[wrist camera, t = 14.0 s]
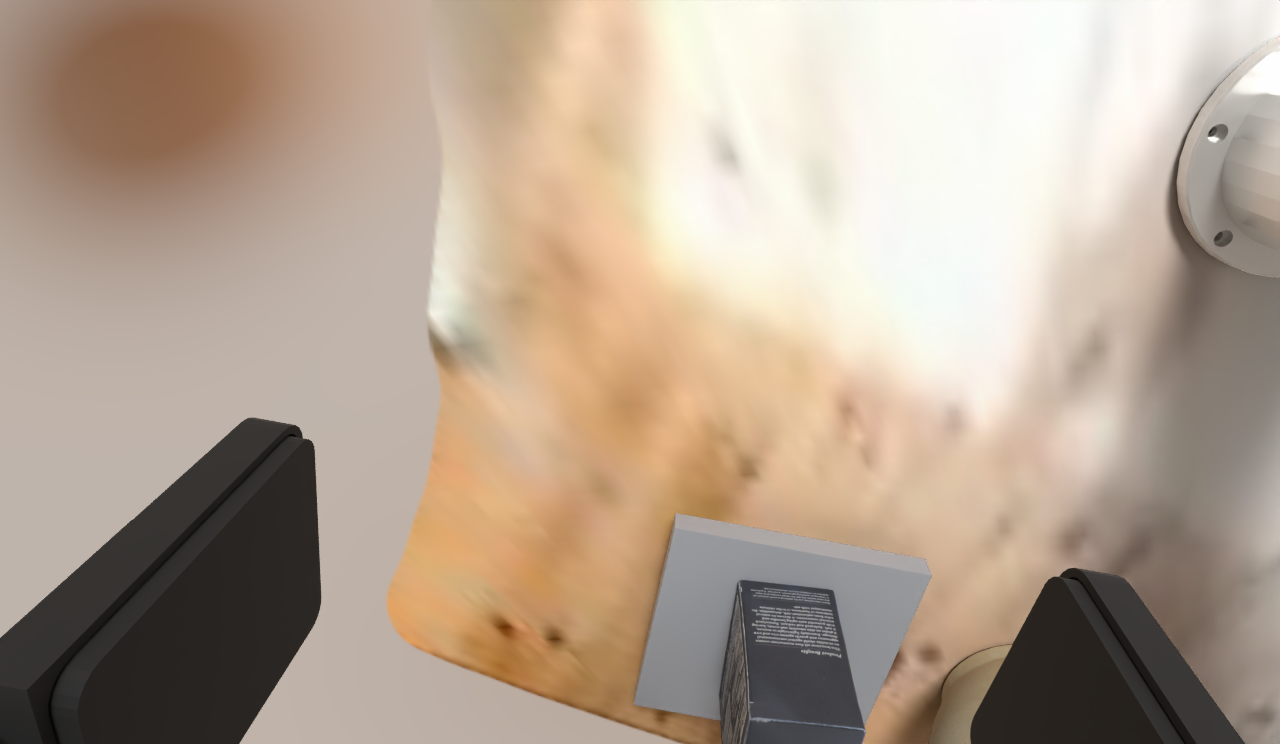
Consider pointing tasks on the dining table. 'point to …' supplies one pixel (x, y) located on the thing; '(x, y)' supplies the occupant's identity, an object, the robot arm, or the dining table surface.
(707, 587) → the stand
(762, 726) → the small box
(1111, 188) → the dining table surface
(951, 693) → the planter bowl
